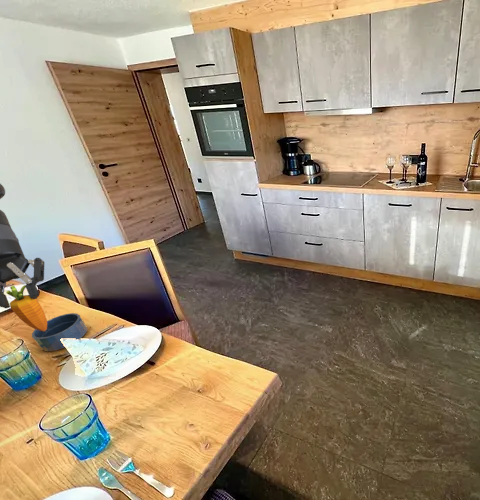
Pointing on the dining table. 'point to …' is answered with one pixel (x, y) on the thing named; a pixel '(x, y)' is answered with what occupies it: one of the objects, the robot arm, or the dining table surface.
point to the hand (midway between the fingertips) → (20, 302)
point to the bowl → (60, 331)
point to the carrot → (28, 309)
